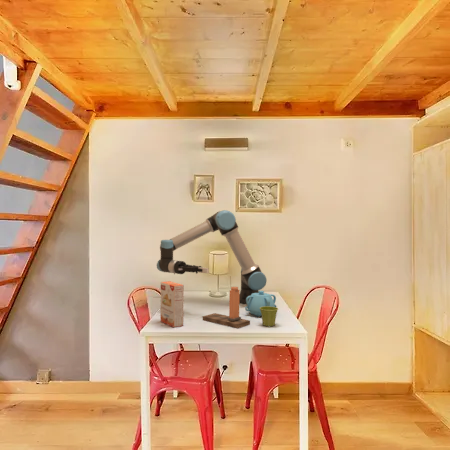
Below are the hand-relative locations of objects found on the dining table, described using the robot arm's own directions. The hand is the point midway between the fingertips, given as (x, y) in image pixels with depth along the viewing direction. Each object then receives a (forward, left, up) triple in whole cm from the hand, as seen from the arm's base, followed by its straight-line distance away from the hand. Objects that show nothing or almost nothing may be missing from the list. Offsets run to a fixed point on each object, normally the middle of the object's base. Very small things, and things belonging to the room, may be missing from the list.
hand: (207, 270), depth 206 cm
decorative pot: (-32, -2, -26) cm, 41 cm away
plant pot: (-28, +20, -26) cm, 43 cm away
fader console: (-8, +10, -26) cm, 29 cm away
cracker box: (+20, +7, -26) cm, 34 cm away
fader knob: (-11, +15, -23) cm, 30 cm away
